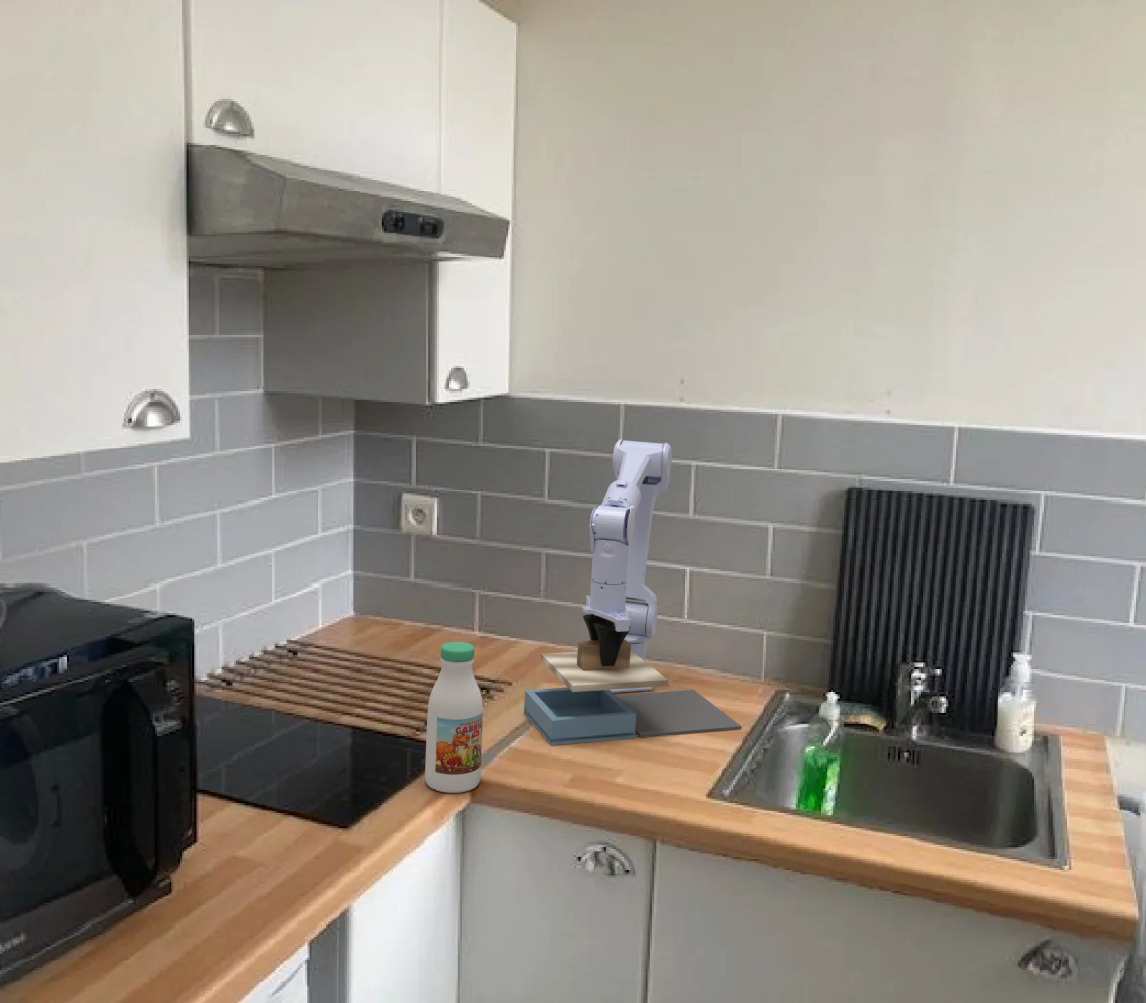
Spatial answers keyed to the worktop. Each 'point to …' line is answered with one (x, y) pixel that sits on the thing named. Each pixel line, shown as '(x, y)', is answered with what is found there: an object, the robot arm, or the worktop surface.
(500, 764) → the worktop surface
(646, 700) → the mat
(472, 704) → the milk bottle
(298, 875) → the worktop surface
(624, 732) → the dish
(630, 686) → the lid
